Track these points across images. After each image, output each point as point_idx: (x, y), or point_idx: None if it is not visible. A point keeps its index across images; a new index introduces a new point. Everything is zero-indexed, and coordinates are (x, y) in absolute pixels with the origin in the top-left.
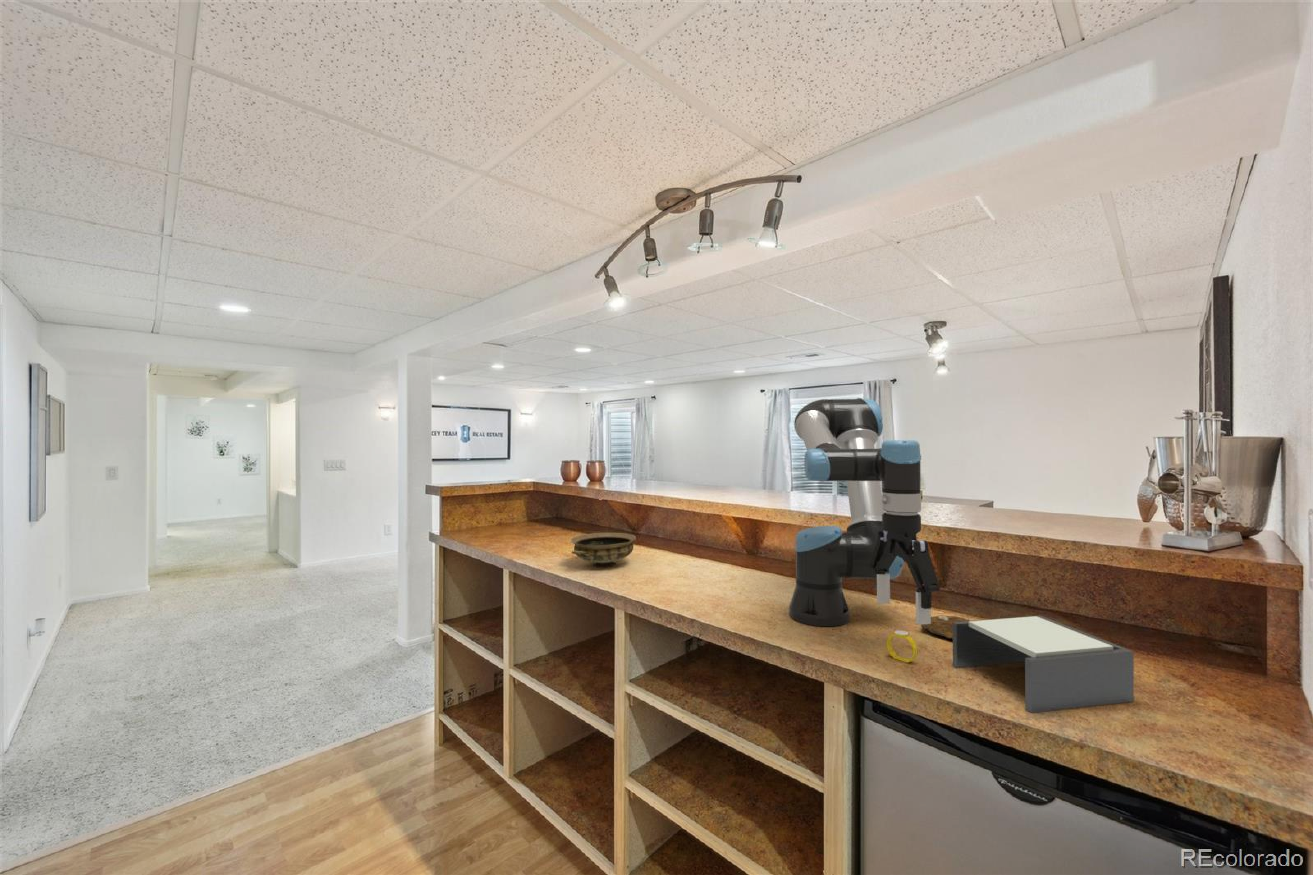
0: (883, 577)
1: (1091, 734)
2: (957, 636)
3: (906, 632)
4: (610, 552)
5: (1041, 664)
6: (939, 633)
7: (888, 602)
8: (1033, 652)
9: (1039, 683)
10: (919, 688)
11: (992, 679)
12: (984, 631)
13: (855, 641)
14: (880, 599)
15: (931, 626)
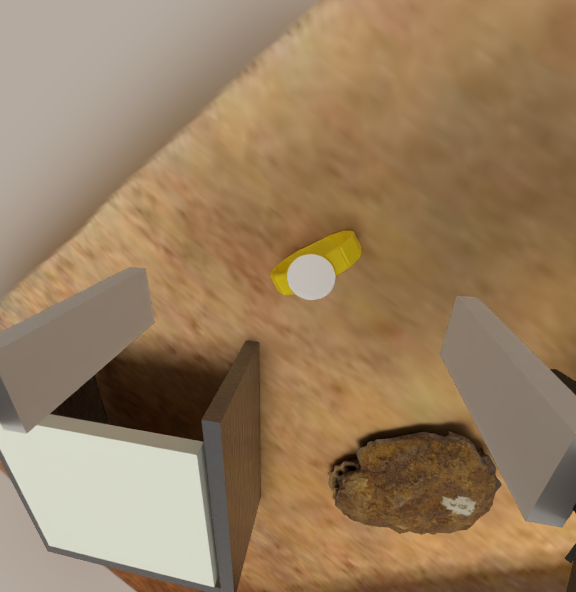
0: (535, 449)
1: None
2: (218, 393)
3: (305, 294)
4: None
5: None
6: (405, 438)
7: (443, 349)
8: None
9: None
10: (157, 178)
11: (189, 362)
12: (140, 437)
13: (500, 196)
14: (463, 316)
15: (436, 448)
